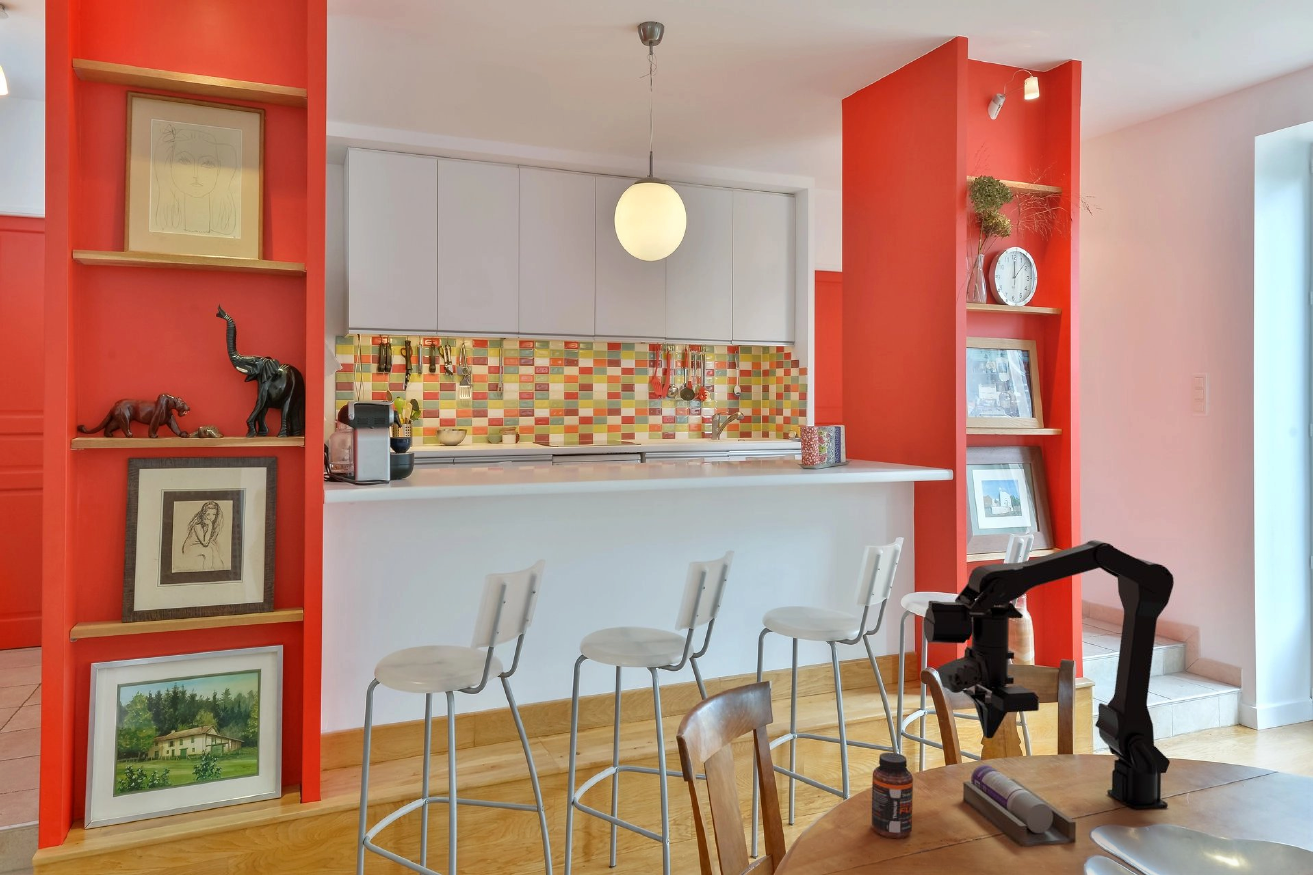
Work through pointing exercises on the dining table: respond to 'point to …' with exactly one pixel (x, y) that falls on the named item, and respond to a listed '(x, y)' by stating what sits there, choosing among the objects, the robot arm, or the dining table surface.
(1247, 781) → the dining table surface
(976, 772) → the container
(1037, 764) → the dining table surface
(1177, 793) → the dining table surface
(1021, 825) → the cradle
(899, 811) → the supplement bottle
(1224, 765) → the dining table surface
